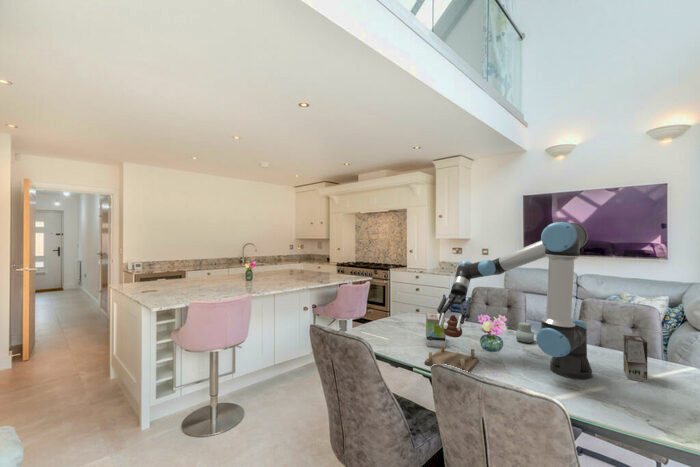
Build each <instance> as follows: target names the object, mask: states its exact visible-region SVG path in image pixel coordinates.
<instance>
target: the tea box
mask: <svg viewBox="0 0 700 467" xmlns="http://www.w3.org/2000/svg"><path fill="white" fill-rule="evenodd" d="M439 316H440V314H439V313H433V312H431V313H430V312H426V314H425V338H426V339H425V340H426V346H427V347H433V348H434V347H437V348H441V343H444V348H446V340H447V338H446V336H447V335H446V334H445V333H444V327H443V326H442V328H440V326H439V322H440V320H439ZM445 321H446V318H445V319H444V322H445ZM444 322H443V324H444Z"/></svg>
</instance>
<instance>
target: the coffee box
mask: <svg viewBox="0 0 700 467" xmlns="http://www.w3.org/2000/svg"><path fill="white" fill-rule="evenodd" d="M622 348H623V349H622V350H623V352H622V354H623V373H624V375H625V377H626V378H627V380H632V381H638V382H643V383H648V341H647V340H646V339H644V338H643V337H642V336H636V335H626V334H623V335H622Z"/></svg>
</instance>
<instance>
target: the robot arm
mask: <svg viewBox="0 0 700 467" xmlns="http://www.w3.org/2000/svg"><path fill="white" fill-rule="evenodd" d="M588 234H589V233H588V231H587V230H586V228H585V227H584V226H583V225H581V224H580V223H576V222H566V221H556V222H552V223H550V224H548V225H547V226H546V227H545V228H544V229H543V230H542V232H541V234H540V235H541V237H540V240H539V241H535V242H534V243H531V244H529V245H527V246H523V247H521V248H519V249H516V250H515V251H511V252H509V253H507V254H505V255H503V256H500V257H498V258H496V259H492V260H491V259H486V260H485V259H484V260H480V261H476V262H473V263H472V262H470V261H468V260H462V261H460V262H459V263H458V266H457V268H456V272H455V275H454V279H453V282H452V286H451V288H450V289H451V290H450V293H449V294H448V295H446V294H443V295H442V299H441V301H440V303H439V305H438V308H437V309H436V310H437V314H440V316H439V320H440V322H439V326H440V328H442V326H443V322H444V319H445V320H446V313H447V312H448V310H449V309H450V308H451V307H452V306H453V305H458V306H459V308H460V309H459V310H460V312H461V314H459V316H458V319H457V320H458V324H457V330H458V331H460V328H462V325H464V324H465V320H466V318H467V319H470V317H471V305H472V303H473V300H472V298H471V297H467V294H468V289H469V286H470V283H471V280H472V279H478V278H483V277H489V276H500V275H502V274H504V273H505V272H508V271H510V270H513V269H516V268H518V267H521V266H524V265H526V264H530V263H532V262H535V261H538V260H540V259H543V258H546V257H547V258H548V270H547V271H548V272H547V289H546V291H547V292H546V294H547V295H546V306H545V307H546V308H545V310H546V312H545V316H544V317H542V318H541V323H540V324H541V326H540V329H539V330H538V331H537V333H536V337H535V339H536V340H535V341H536V343H537V344H536V345H537V346H538V348H539V349H540V350H542V353H544V354H546V355H548V356H550V357H551V360H550V361H549V369H550V370H551V371H552V373H555V374H556V375H560V376H563V377H564V378H569V379H570V378H571V379H576V380H588V379H589V380H590V379H591V378H592V377H593V369H592V366H591V364H590V361H589V359H588V346H587V344H588V338H587V337H588V336H587V335H588V334H587V333H588V332H587V331H588V327H587V323H586V321H584V320H581V319H576V318H572V308H573V290H574V289H573V288H574V271H575V270H574V268H575V260H577V259H578V258H579V257H580V249H581V248H583V247H584V246H585V245H586V244H587V241H588V238H589V235H588ZM465 302H466V309H464V305H463V303H465Z"/></svg>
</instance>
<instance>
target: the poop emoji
mask: <svg viewBox="0 0 700 467" xmlns="http://www.w3.org/2000/svg"><path fill="white" fill-rule="evenodd" d="M458 320H459V319H458V318H457V317H456V315H455V314H451V315H450V317H449V319H448V320H447V321H445V322H444V324H443V327H444V333H445V334H446V336H447V337H450V338H460V337H462V335H463V329H462V327H461V328H460V331H458V330H457V324H458Z"/></svg>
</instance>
